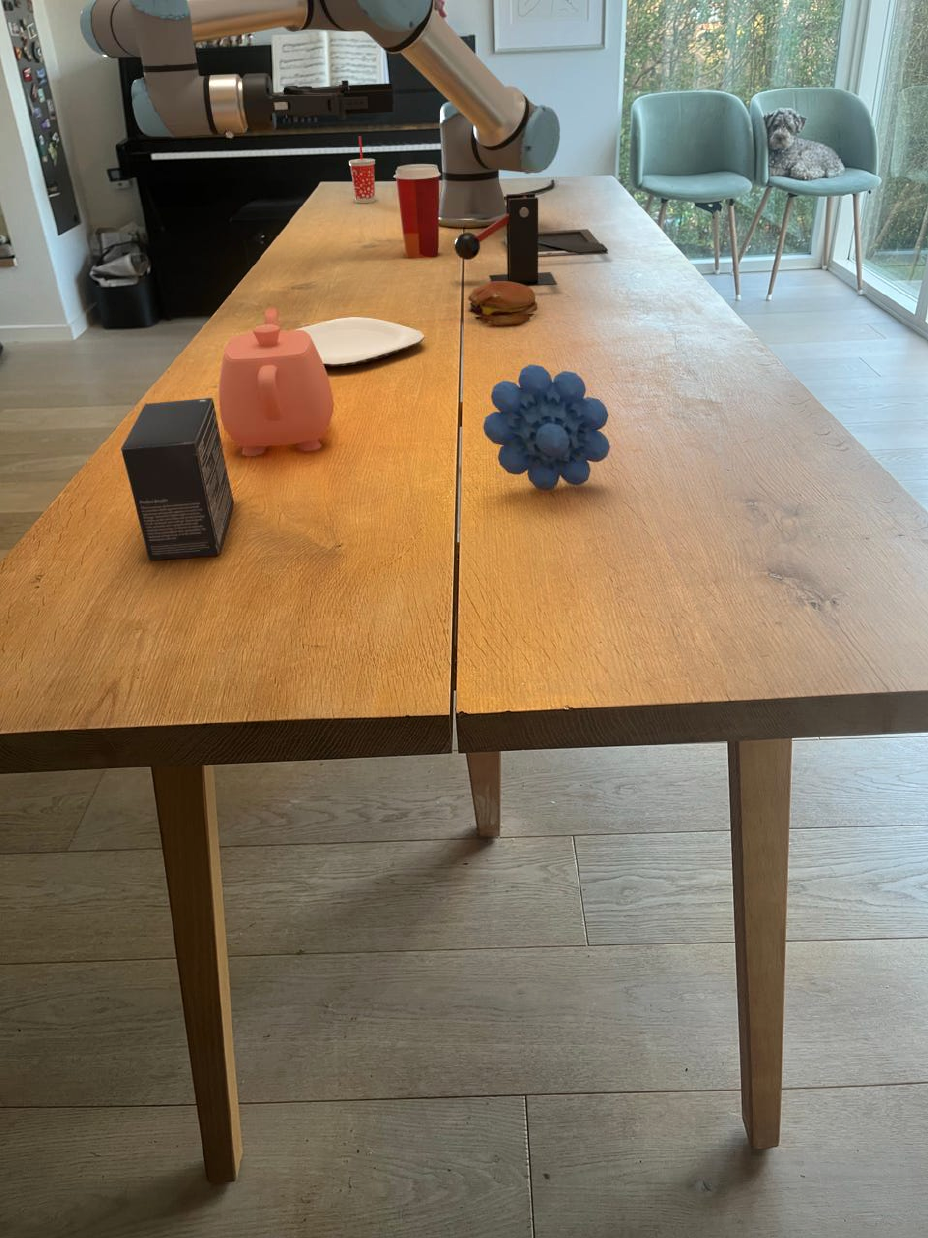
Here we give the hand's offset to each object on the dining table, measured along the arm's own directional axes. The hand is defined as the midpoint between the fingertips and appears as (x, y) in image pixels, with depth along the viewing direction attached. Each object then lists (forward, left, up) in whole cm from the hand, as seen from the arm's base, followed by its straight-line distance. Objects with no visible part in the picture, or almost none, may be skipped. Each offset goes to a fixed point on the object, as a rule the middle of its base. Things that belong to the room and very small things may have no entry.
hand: (392, 96), depth 142 cm
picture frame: (-38, +2, -28) cm, 47 cm away
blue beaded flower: (+47, +63, -28) cm, 83 cm away
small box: (+72, +42, -28) cm, 88 cm away
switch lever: (-10, +11, -20) cm, 25 cm away
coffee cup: (-23, -17, -28) cm, 40 cm away
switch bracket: (-13, +14, -28) cm, 34 cm away
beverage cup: (-60, -69, -28) cm, 96 cm away
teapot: (+52, +31, -28) cm, 67 cm away
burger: (+2, +22, -28) cm, 36 cm away
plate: (+26, +14, -28) cm, 41 cm away
